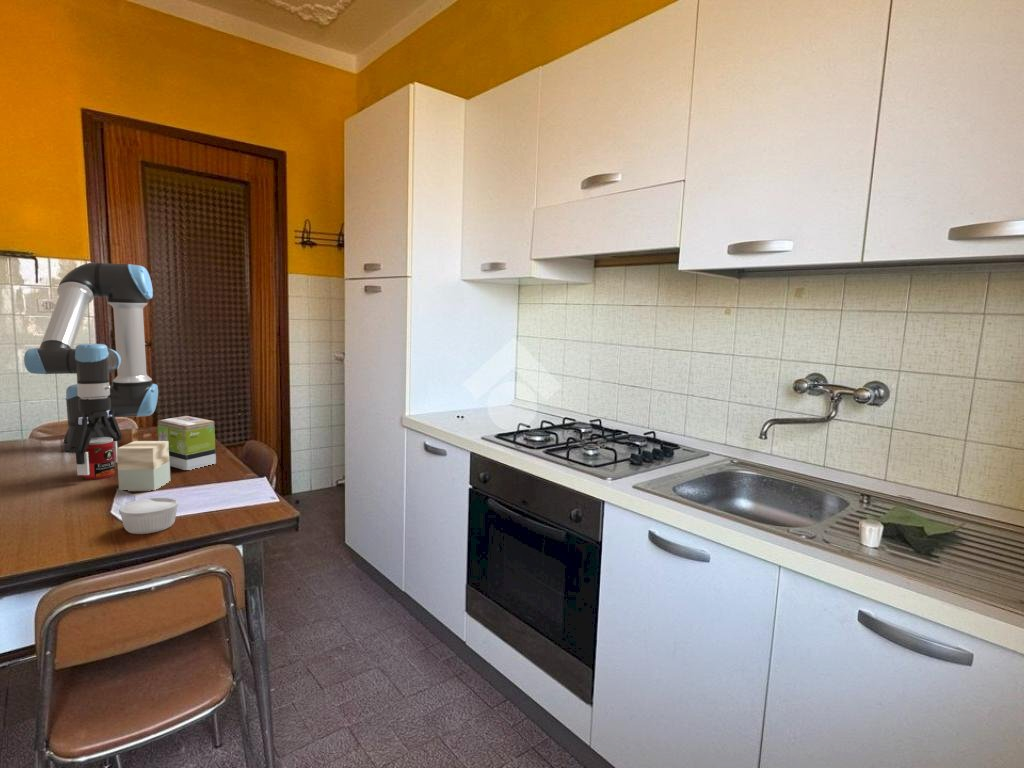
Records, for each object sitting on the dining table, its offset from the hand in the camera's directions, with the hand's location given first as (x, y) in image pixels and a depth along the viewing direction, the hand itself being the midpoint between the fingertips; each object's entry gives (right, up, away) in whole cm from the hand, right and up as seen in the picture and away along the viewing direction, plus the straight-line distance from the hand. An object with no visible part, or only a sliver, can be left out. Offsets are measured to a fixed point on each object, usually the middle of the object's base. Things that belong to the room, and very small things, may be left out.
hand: (98, 468), depth 163 cm
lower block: (+19, -4, -7) cm, 21 cm away
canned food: (0, -3, 0) cm, 2 cm away
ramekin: (+39, -8, -36) cm, 54 cm away
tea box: (+17, -1, +15) cm, 23 cm away
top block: (+19, +2, -8) cm, 21 cm away
